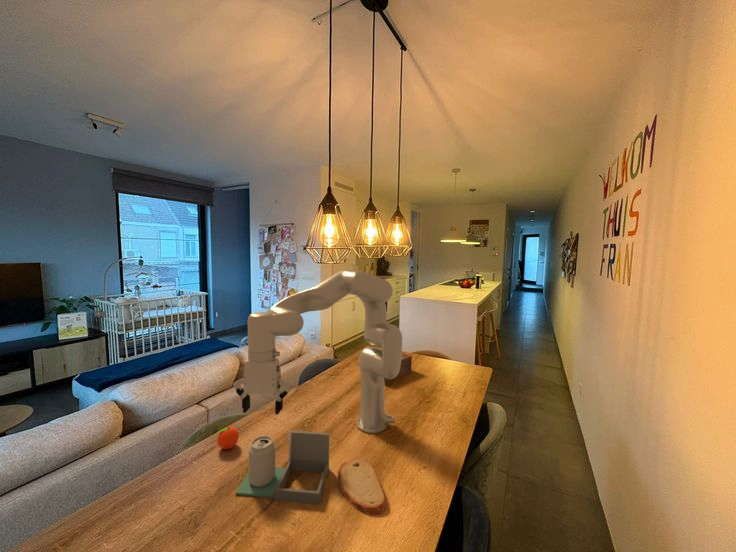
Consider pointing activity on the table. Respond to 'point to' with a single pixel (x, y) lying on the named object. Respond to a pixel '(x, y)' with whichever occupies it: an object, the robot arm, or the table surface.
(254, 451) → the can
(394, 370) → the robot arm
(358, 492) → the slice of bread
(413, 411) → the table surface
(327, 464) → the grey open box
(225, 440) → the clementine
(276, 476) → the mat
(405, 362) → the tissue box cover
